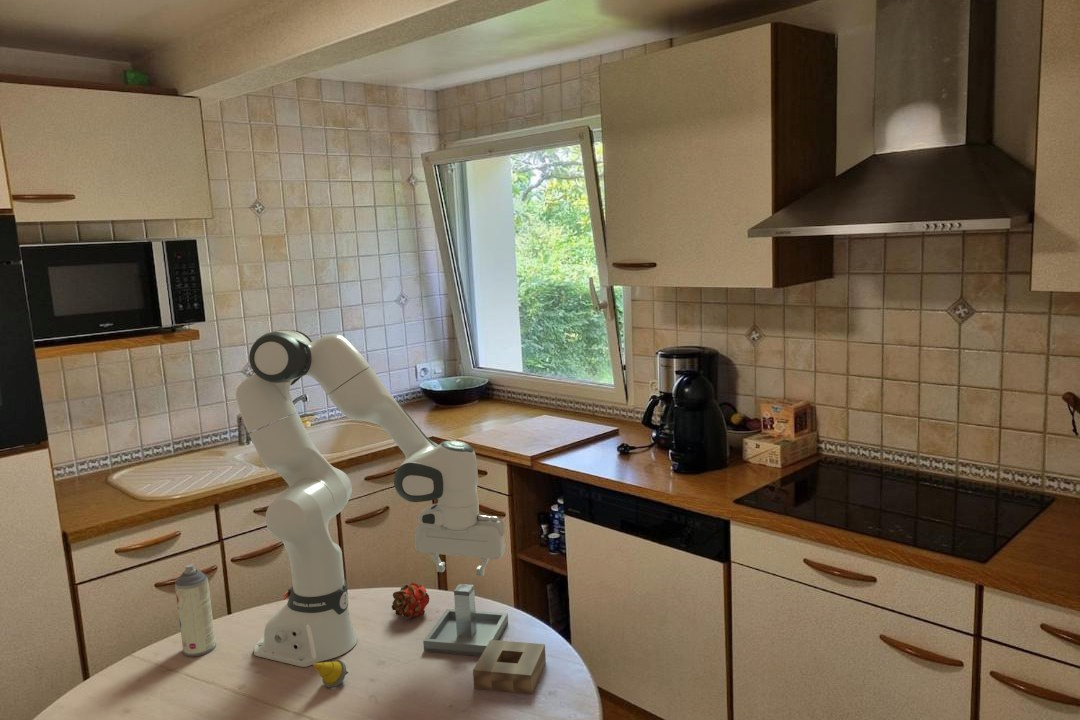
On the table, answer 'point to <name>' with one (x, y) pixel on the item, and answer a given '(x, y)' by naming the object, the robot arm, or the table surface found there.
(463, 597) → the metal pin
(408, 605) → the dragon fruit
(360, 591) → the table surface
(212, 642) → the aerosol can
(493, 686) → the hitch block
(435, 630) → the tray
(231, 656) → the table surface
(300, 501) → the robot arm
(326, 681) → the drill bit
